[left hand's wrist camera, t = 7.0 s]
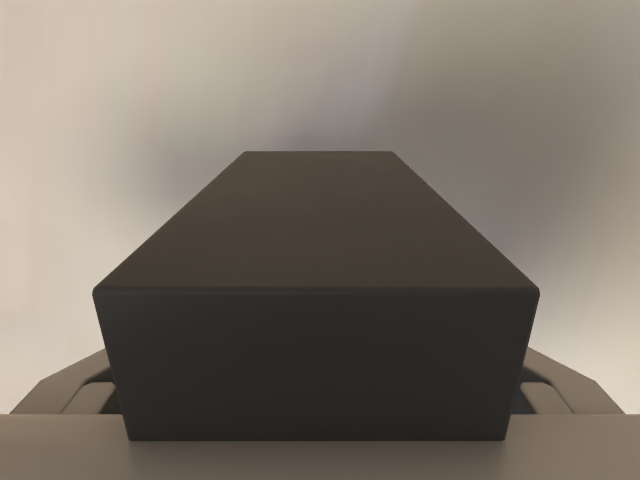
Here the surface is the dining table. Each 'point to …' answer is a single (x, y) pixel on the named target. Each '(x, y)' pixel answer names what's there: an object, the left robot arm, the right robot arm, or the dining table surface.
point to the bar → (316, 310)
